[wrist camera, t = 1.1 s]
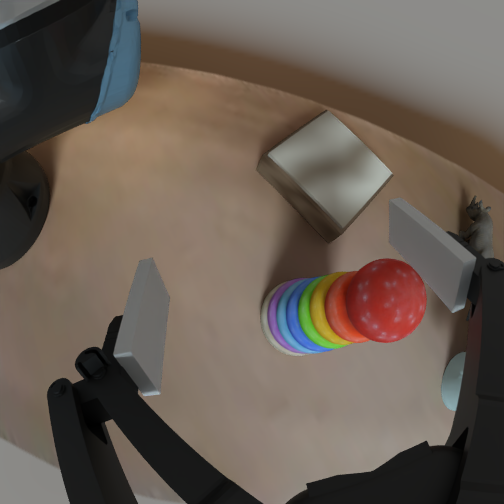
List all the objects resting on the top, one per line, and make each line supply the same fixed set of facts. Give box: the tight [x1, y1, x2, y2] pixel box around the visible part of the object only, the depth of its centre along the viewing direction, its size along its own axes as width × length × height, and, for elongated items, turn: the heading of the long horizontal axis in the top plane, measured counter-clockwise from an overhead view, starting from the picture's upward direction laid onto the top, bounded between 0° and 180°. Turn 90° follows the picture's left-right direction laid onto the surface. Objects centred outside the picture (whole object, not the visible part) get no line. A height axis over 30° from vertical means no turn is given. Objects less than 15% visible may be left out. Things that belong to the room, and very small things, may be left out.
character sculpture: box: [441, 352, 466, 411], centre depth 29 cm, size 20×12×13 cm, turn 72°
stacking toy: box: [260, 259, 427, 356], centre depth 24 cm, size 8×8×19 cm
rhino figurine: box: [459, 196, 494, 259], centre depth 38 cm, size 4×14×6 cm, turn 164°
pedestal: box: [257, 110, 394, 243], centre depth 36 cm, size 12×12×4 cm
